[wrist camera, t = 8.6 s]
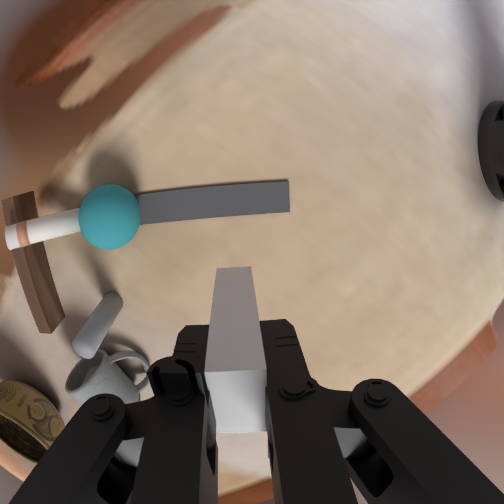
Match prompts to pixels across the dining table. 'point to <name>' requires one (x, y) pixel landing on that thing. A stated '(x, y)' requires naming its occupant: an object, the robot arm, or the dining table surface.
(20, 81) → the dining table surface
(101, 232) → the ball
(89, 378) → the ceramic mug
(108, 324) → the grey pin
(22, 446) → the ceramic bowl
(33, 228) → the white pin
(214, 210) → the grey flat bar
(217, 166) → the dining table surface
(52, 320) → the backstop
